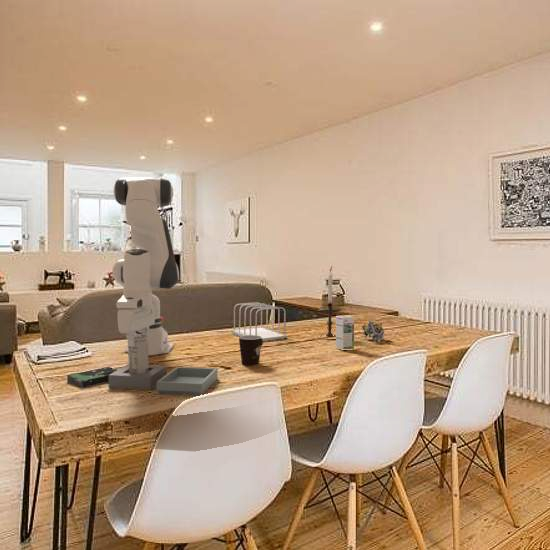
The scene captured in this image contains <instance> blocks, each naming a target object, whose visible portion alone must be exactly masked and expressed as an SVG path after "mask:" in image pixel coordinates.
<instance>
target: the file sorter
mask: <svg viewBox="0 0 550 550" xmlns="http://www.w3.org/2000/svg"><path fill="white" fill-rule="evenodd" d="M238 306H240V307H239V314H238V318H239V319H238V329H236V308H237V307H238ZM245 306H246V307H245ZM243 307H245V309H244V320H243V321H244V323H243V324H244V326H243V327H244V328H243V329H242V328H241V312H242V310H241V309H242V308H243ZM249 308H251V309H250V312H249V328H246V325H247V324H246V323H247V310H248V309H249ZM256 309H257V311H256V312H255V325H254V326H255V327H252V312H253V311H254V310H256ZM276 309H277V310H278V312H277V313H278V316H277V317H278V319H277V321H278V322H277V331H275V330H274V325H275V324H274V321H275V320H274V317H275V310H276ZM280 309H282V310H283V312H284V313H283V316H284V317H283V324H284V325H283V326H284V327H283V333H281V332H280V317H281V312H280V311H281V310H280ZM265 310H266V323H265V324H266V325H265V326H266V327H263V311H265ZM269 310H272V316H271V317H272V318H271V319H272V320H271V321H272V322H271V323H272V324H271V325H272V326H271V329H269V328H268V327H269V326H268V322H269V320H268V319H269ZM259 312H260V327H258V324H257V323H258V321H257V320H258V313H259ZM286 315H287V312H286V309H285V308H284V307H282V306H281V307H280V306H273V305H272V304H266V303H260V302H258V301H256V302H245V303H237V304H235V305H234V307H233V329H232V330H231V333H233V335H234V334H235V336H237V335H238V336H237V337H239V336H245V335H256V336H261V337H262V340H263V341H265V342H269V341H268V340H273V341H275V340H274V339H282V338H287V339H288V335H287V334H286V318H287V316H286ZM282 340H283V339H282Z"/></svg>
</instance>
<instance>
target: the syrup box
mask: <svg viewBox="0 0 550 550" xmlns="http://www.w3.org/2000/svg"><path fill="white" fill-rule="evenodd" d="M335 335H336V340H335V348H336V347H337V348H340V349H355V317H354V316H353V315H350V314H345V315H336V316H335Z"/></svg>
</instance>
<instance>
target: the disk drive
mask: <svg viewBox="0 0 550 550" xmlns="http://www.w3.org/2000/svg"><path fill="white" fill-rule="evenodd" d="M117 370H118V369H117V368H113V367H111V366H105V367H101V368H96V369H91V370H86V371H81V372H76V373H72V374H71V373H70V374H67V377H66V379H67V382H68V383H70V384H73V385H75V386H77V387H79V386H80V388H82V387H83V388H87V386H88V387H91V386H96V385H100V384H104V383H109V375H110V374H111V373H113V372H115V371H117Z"/></svg>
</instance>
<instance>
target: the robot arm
mask: <svg viewBox="0 0 550 550" xmlns="http://www.w3.org/2000/svg"><path fill="white" fill-rule="evenodd" d="M112 192H113V196H114V199H115V201H116V203H118V204H119V205H121V206H125V220H126V222H127V224H128V225H129V227H130V228H131V229H130V233H131V235H130V236H131V238H130V240H131V243H132V245H133V246H134V247H136V248H132V249H128V250H126V251H125V252H124V254H123V255H124V256H123V258H122V259H117V260H116V261H115V263H114V265H113V266H112V271H111V272H112V277H113V279H114V281H115V282H116V283H117V284H118V285H120V286H122V288H123V289H122V292H123V293H122V295H121V297H120V298H119V299H118V300H116V303H115V304H116V305H115V306H116V309H118V310H117V327H118V329H117V330H118V331H119V334H125V336H126V337H125V338H126V339H127V348H125V349H124V352H125V353H127V354H129V347H128V346H135V340H134V336H135V335H144V336H146V339H147V341H148V356H156V355H160V354H162V355H163V354H169V353H170V352H171V350H172V349H173V347H174V346H175V345H174V343H171V342H169V334H168V332H167V331H166V330H165V329H164V328H163V322H164V319H165V318H164V317H163V316H161V300H160V299H159V297H158V296H157V295H155V294H153V291H152V290H153V289H156V288H158V289H164V290H165V289H167V290H170V289H172V288H173V287H175V286H176V285H177V284H178V282H179V280H180V270H179V266H178V264H177V262H176V258H175V254H174V253H175V252H174V248H173V243H172V237H171V233H170V229H169V226H168V223H167V220H165V219H164V218H162V216H161V215H160V213H159V208H158V207H160V208H161V210H163V209H164V208H165V207H166V206H169V205H170V204H171V203H172V200H173V197H174V188H173V186H172V183H171V182H170V180H169V179H166V178H156V177H149V176H148V177H146V176H144V177H121V178H118V179H116V181H115V183H114V185H113V191H112Z"/></svg>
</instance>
